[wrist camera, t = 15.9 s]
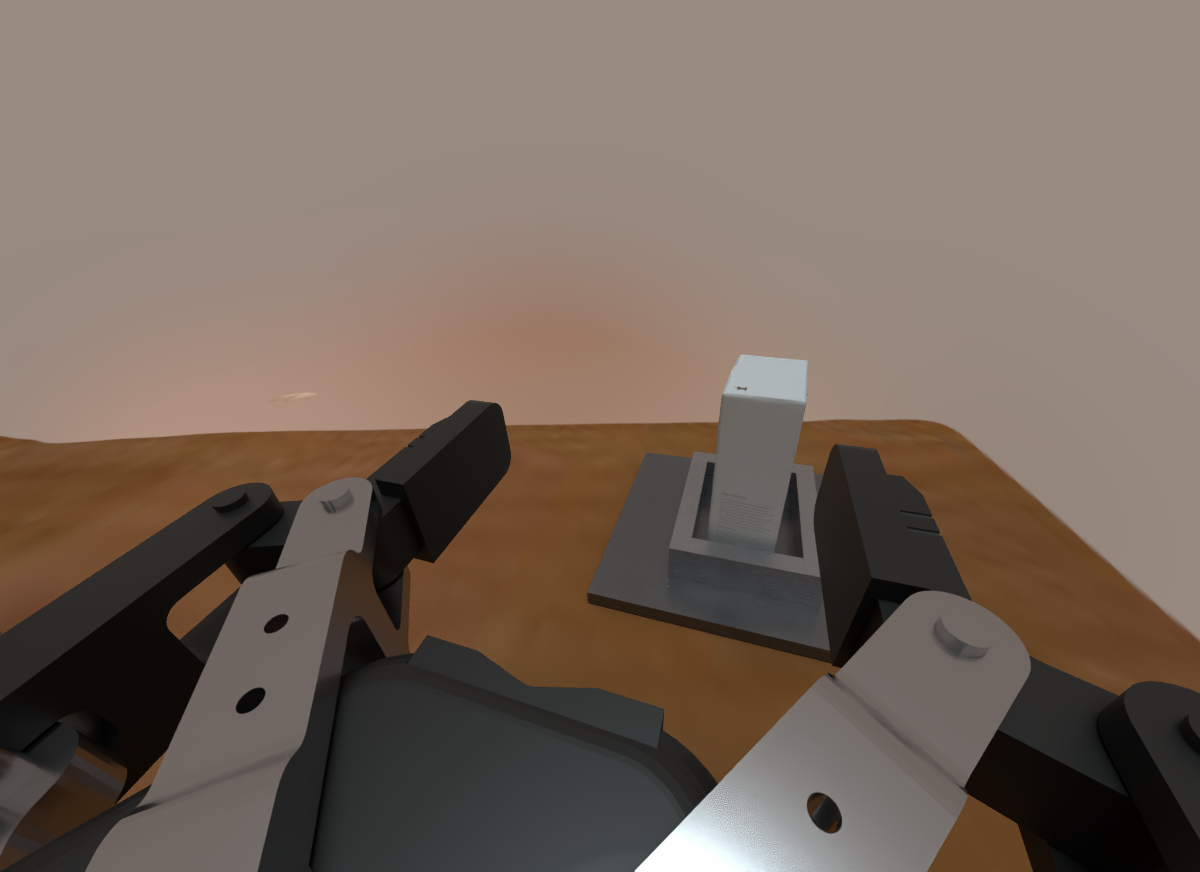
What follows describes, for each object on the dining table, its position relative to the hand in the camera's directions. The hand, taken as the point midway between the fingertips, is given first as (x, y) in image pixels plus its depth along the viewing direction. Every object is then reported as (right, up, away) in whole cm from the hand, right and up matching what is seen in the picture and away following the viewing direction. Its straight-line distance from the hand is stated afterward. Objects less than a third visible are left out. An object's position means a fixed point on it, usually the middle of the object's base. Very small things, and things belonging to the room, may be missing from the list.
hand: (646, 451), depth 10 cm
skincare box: (+9, -7, +20) cm, 23 cm away
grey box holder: (+9, -7, +20) cm, 23 cm away
